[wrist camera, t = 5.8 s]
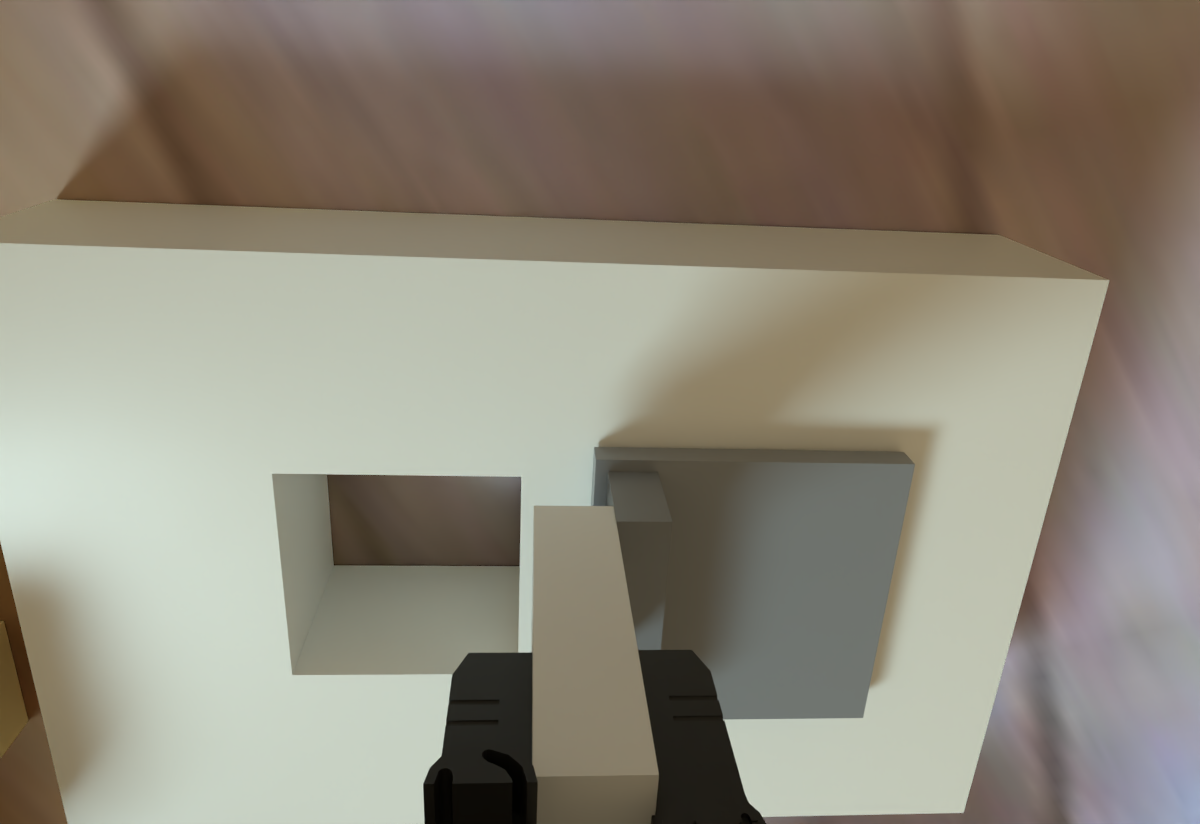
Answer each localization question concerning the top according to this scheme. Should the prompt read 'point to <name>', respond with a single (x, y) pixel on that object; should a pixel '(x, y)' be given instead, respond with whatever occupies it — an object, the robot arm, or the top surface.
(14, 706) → the plug
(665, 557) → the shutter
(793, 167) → the top surface
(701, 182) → the top surface
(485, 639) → the socket
